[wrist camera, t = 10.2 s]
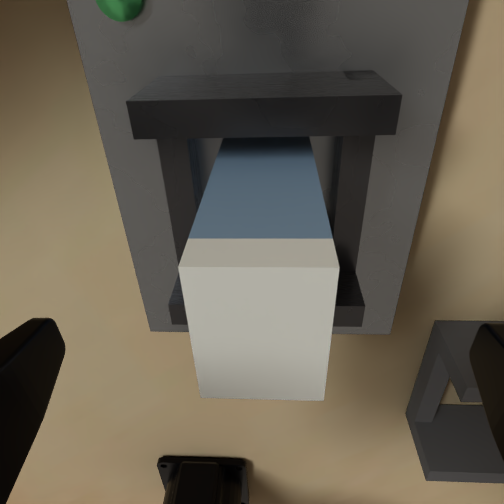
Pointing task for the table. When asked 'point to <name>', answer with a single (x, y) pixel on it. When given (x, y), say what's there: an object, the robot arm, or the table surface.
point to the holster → (452, 411)
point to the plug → (261, 274)
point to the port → (271, 123)
